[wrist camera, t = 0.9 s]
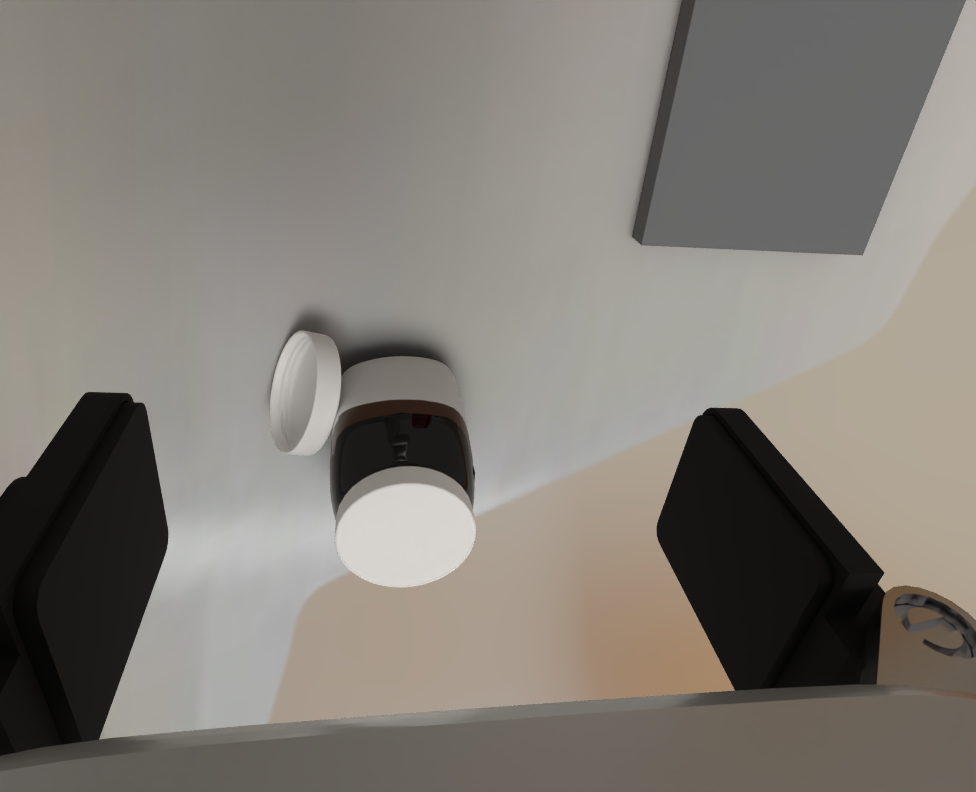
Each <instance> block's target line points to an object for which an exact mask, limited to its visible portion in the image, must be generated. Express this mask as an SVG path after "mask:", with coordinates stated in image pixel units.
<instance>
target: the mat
mask: <svg viewBox="0 0 976 792" xmlns="http://www.w3.org/2000/svg"><path fill="white" fill-rule="evenodd" d="M965 1H966V0H682V5H681V10H680V14H679V19H678V24H677V29H676V33H675V38H674V43H673V48H672V52H671V57H670V62H669V66H668V71H667V76H666V81H665V85H664V90H663V95H662V99H661V104H660V109H659V114H658V118H657V123H656V128H655V133H654V137H653V142H652V147H651V151H650V156H649V161H648V166H647V170H646V175H645V180H644V184H643V189H642V194H641V199H640V203H639V208H638V213H637V218H636V222H635V227H634V232H633V236H632V237H633V238H634V239H635V240H636V241H638V242H639V243H640V244H641V245H649V246H671V247H693V248H715V249H737V250H759V251H781V252H803V253H825V254H847V255H863V253H864V250H865V248H866V246H867V243H868V241H869V238H870V236H871V233H872V231H873V228H874V226H875V223H876V221H877V218H878V216H879V213H880V211H881V208H882V206H883V204H884V201H885V199H886V196H887V194H888V191H889V189H890V186H891V184H892V181H893V179H894V176H895V174H896V171H897V169H898V166H899V164H900V162H901V159H902V157H903V154H904V152H905V149H906V147H907V144H908V142H909V139H910V137H911V134H912V132H913V129H914V127H915V124H916V122H917V120H918V117H919V115H920V112H921V110H922V107H923V105H924V102H925V100H926V97H927V95H928V92H929V90H930V87H931V85H932V82H933V80H934V78H935V75H936V73H937V70H938V68H939V65H940V63H941V60H942V58H943V55H944V53H945V50H946V48H947V45H948V43H949V40H950V38H951V36H952V33H953V31H954V28H955V26H956V23H957V21H958V18H959V16H960V13H961V11H962V8H963V6H964V3H965Z"/></svg>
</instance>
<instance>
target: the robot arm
mask: <svg viewBox="0 0 976 792" xmlns="http://www.w3.org/2000/svg"><path fill="white" fill-rule="evenodd" d="M657 537H658V541H659V543H660V545H661V547H662V549H663V551H664V553H665V555H666V557H667V559H668V561H669V563H670V565H671V567H672V569H673V571H674V573H675V575H676V576H677V578H678V580H679V582H680V584H681V586H682V588H683V590H684V592H685V594H686V596H687V598H688V600H689V602H690V604H691V605H692V608H693V610H694V611H695V613H696V615H697V617H698V619H699V621H700V623H701V625H702V627H703V629H704V631H705V633H706V634H707V637H708V639H709V640H710V643H711V644H712V646H713V648H714V650H715V652H716V654H717V656H718V658H719V660H720V662H721V664H722V666H723V668H724V670H725V672H726V674H727V676H728V678H729V679H730V681H731V683H732V685H733V687H734V689H735V691H725V692H709V693H693V694H678V695H662V696H647V697H632V698H618V699H604V700H588V701H574V702H560V703H545V704H532V705H517V706H503V707H490V708H475V709H461V710H448V711H434V712H420V713H407V714H394V715H381V716H367V717H354V718H341V719H328V720H315V721H303V722H289V723H276V724H262V725H249V726H237V727H226V728H216V729H205V730H194V731H183V732H172V733H161V734H150V735H140V736H129V737H118V738H109V739H101V740H99V738H100V735H101V732H102V729H103V727H104V724H105V721H106V718H107V715H108V713H109V710H110V707H111V704H112V702H113V699H114V696H115V693H116V690H117V688H118V685H119V682H120V679H121V676H122V674H123V671H124V668H125V665H126V662H127V660H128V657H129V654H130V651H131V648H132V646H133V643H134V640H135V637H136V635H137V632H138V629H139V626H140V623H141V621H142V618H143V615H144V612H145V609H146V607H147V604H148V601H149V598H150V595H151V593H152V590H153V587H154V584H155V581H156V579H157V576H158V573H159V570H160V568H161V565H162V562H163V559H164V556H165V554H166V550H167V545H168V526H167V521H166V515H165V510H164V504H163V499H162V493H161V488H160V482H159V477H158V471H157V466H156V460H155V454H154V449H153V443H152V438H151V432H150V427H149V421H148V416H147V411H146V407H145V405H144V404H143V403H134V402H133V399H132V397H131V395H130V394H128V393H103V392H88V393H85V394H84V395H83V396H82V398H81V399H80V400H79V402H78V403H77V405H76V406H75V408H74V409H73V411H72V412H71V413H70V415H69V416H68V418H67V419H66V421H65V422H64V424H63V425H62V426H61V428H60V429H59V431H58V432H57V434H56V435H55V436H54V438H53V439H52V441H51V442H50V444H49V445H48V447H47V448H46V449H45V451H44V452H43V454H42V455H41V457H40V458H39V460H38V461H37V462H36V464H35V465H34V467H33V468H32V470H31V471H30V472H29V474H28V475H27V477H20V478H18V479H15V480H14V481H13V482H12V483H11V484H10V485H9V486H8V487H7V488H6V490H5V491H4V493H3V494H2V495H1V497H0V792H976V620H975V619H974V618H973V617H972V616H971V615H969V614H968V613H967V612H966V611H964V610H963V609H962V608H960V607H959V606H957V605H956V604H955V603H953V602H952V601H950V600H948V599H946V598H944V597H942V596H940V595H938V594H936V593H934V592H930V591H928V590H925V589H922V588H918V587H911V586H899V587H893V588H892V589H890V590H889V591H887V592H886V593H885V592H884V591H883V590H882V589H881V587H880V586H879V585H878V582H879V581H880V579H881V578H882V576H883V574H884V572H883V571H882V569H881V568H880V567H879V566H878V565H877V564H876V563H875V561H874V560H873V559H872V558H871V557H870V556H869V554H868V553H867V552H866V551H865V550H864V549H863V548H862V546H861V545H860V544H859V543H858V542H857V541H856V540H855V538H854V537H853V536H852V535H851V534H850V533H849V532H848V530H847V529H846V528H845V527H844V526H843V525H842V523H841V522H840V521H839V520H838V519H837V518H836V517H835V515H834V514H833V513H832V512H831V511H830V510H829V509H828V507H827V506H826V505H825V504H824V503H823V502H822V500H821V499H820V498H819V497H818V496H817V495H816V494H815V492H814V491H813V490H812V489H811V488H810V487H809V486H808V485H807V483H806V482H805V481H804V480H803V479H802V477H801V476H800V475H799V474H798V473H797V472H796V471H795V469H794V468H793V467H792V466H791V465H790V464H789V463H788V462H787V460H786V459H785V458H784V457H783V456H782V454H780V452H779V451H778V450H777V449H776V448H775V447H774V445H773V444H772V443H771V442H770V441H769V440H768V438H767V437H766V436H765V435H764V434H763V433H762V432H761V430H760V429H759V428H758V427H757V426H756V425H755V423H754V422H753V421H752V420H751V419H750V418H749V417H748V415H747V414H746V413H745V412H744V411H743V410H741V409H737V408H709V409H707V410H706V411H705V412H704V413H703V415H700V416H698V417H697V418H696V419H695V420H694V423H693V425H692V428H691V431H690V434H689V436H688V439H687V442H686V445H685V447H684V450H683V453H682V456H681V459H680V461H679V464H678V467H677V470H676V473H675V475H674V478H673V481H672V484H671V487H670V489H669V492H668V495H667V498H666V500H665V503H664V506H663V509H662V511H661V515H660V517H659V520H658V523H657Z"/></svg>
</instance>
